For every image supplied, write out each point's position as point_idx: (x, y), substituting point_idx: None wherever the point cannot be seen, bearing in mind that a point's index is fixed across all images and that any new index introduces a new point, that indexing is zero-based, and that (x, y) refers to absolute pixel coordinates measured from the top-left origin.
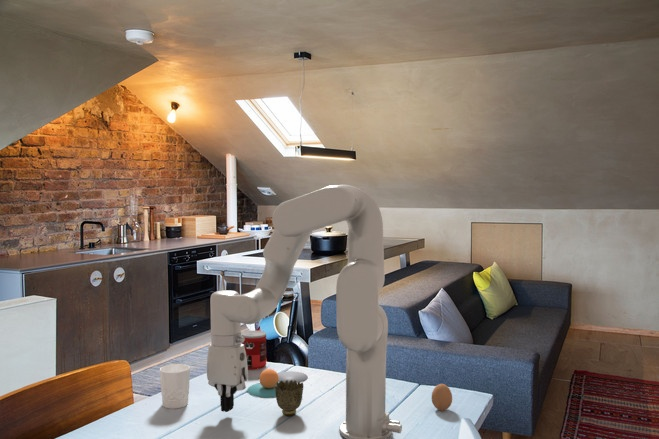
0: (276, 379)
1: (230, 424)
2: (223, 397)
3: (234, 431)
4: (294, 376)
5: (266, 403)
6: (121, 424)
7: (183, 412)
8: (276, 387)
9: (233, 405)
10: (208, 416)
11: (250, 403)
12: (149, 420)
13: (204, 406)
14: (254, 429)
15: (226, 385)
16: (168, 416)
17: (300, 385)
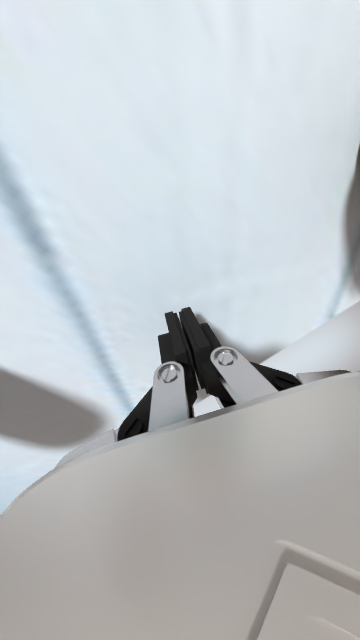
0: None
1: (224, 342)
2: (198, 389)
3: (257, 357)
4: None
5: (222, 23)
6: (25, 477)
7: (34, 383)
8: None
9: (207, 324)
10: (127, 351)
11: (138, 110)
12: (39, 446)
13: (14, 312)
14: (297, 321)
15: (186, 407)
16: (41, 416)
17: None
